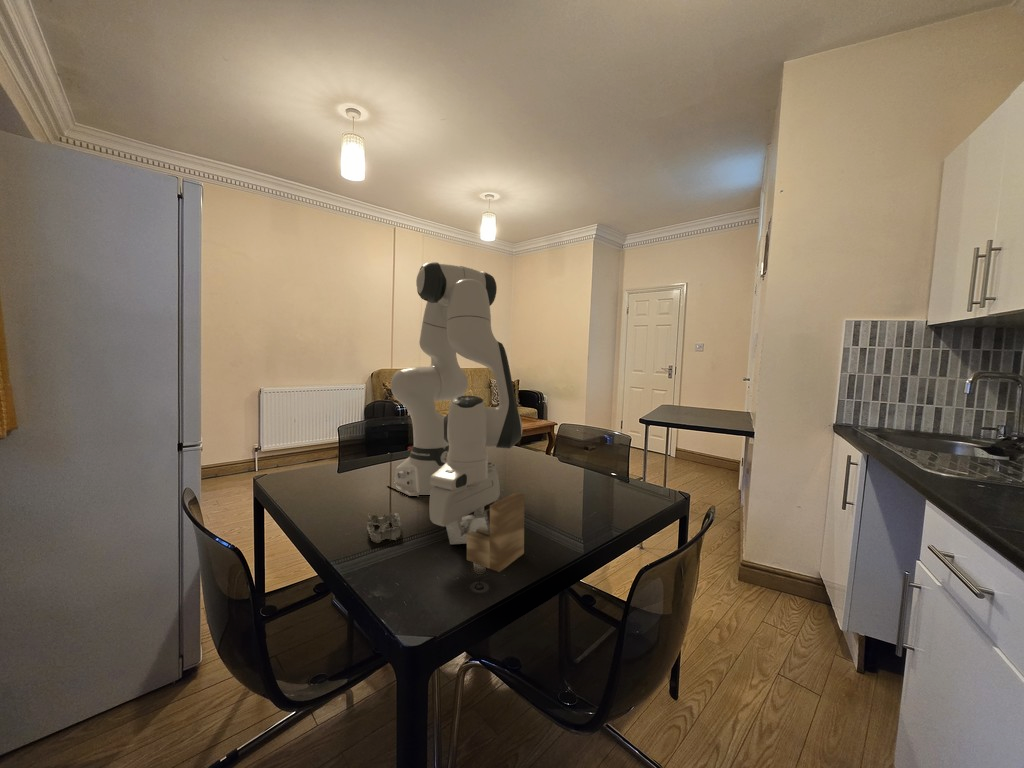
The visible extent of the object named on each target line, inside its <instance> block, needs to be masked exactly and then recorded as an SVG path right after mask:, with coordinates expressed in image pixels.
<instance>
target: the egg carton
mask: <svg viewBox="0 0 1024 768" xmlns="http://www.w3.org/2000/svg"><path fill="white" fill-rule="evenodd" d="M387 521H391V522H392V524H391V525H392V526H391V528H390V524H389V523H386V522H387ZM373 523H378V524H380V527H379V528H378V530H379V532H378V533H377V534H376V533H375V532H376V530H375V529H376V528H375V527H376V526H373ZM384 523H386V524H384ZM401 526H402V522H401V517H400V513H399V512H395V513H389V514H387V515H386V513H385V514H383V515H382V517H378V515H377V514H376V513H375V514H374V513H373V514H371V512H367V526H366V527H367V531H368V535H369V534H370V535H369V539H370V538H371V539H374V540H376V541H377V540H381V539H382V538H385V537H389V538H391V539H395V538H396V537H397V536H400V535H401V533H402V532H401V531H402V530H401ZM392 527H393V528H392Z"/></svg>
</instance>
